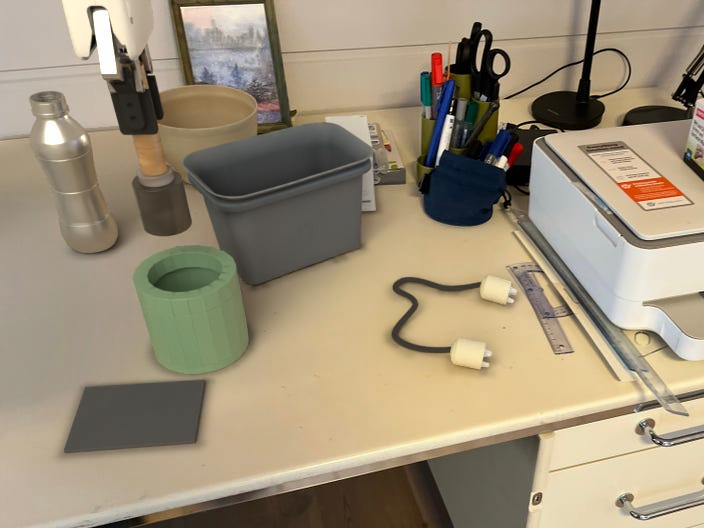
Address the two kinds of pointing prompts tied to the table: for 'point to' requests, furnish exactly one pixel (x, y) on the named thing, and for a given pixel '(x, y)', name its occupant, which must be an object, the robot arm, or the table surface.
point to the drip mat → (136, 416)
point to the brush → (158, 186)
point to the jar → (192, 308)
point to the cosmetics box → (361, 130)
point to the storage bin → (283, 197)
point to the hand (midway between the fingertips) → (143, 124)
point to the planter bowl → (204, 120)
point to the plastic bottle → (71, 174)
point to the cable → (462, 349)
